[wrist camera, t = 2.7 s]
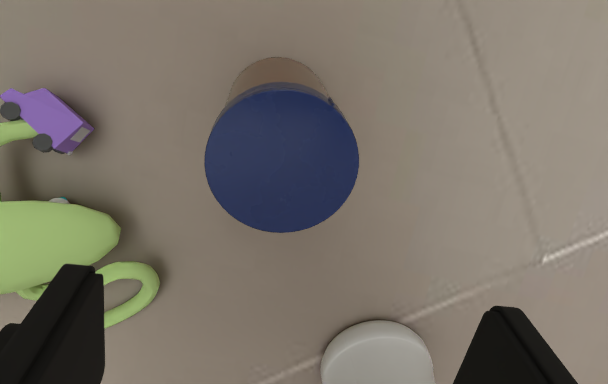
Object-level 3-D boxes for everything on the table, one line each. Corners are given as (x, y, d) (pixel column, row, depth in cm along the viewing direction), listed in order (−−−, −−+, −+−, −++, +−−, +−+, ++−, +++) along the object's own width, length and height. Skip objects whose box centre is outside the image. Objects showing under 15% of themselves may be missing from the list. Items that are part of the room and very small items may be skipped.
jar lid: (270, 47, 19) (270, 52, 18) (383, 141, 21) (391, 153, 20) (180, 164, 21) (173, 178, 20) (291, 240, 23) (293, 257, 22)
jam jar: (269, 34, 27) (270, 60, 18) (348, 101, 29) (381, 152, 20) (207, 115, 28) (182, 173, 20) (285, 172, 31) (292, 247, 22)
